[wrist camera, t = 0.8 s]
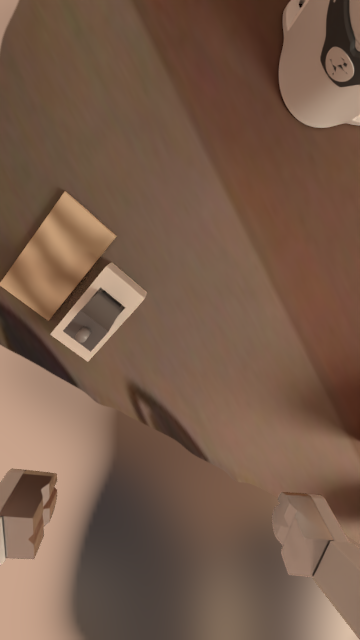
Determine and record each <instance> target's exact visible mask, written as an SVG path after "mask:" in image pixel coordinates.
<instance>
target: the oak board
mask: <svg viewBox="0 0 360 640" xmlns="http://www.w3.org/2000/svg"><path fill="white" fill-rule="evenodd" d="M116 237H117V236H116V235H115V234H114V233H113V232H112V231H110V230H109V229H108V228H107V227H106V226H105V225H104V224H103V223H101V222H100V221H99V220H98V219H97V218H96V217H95V216H93V215H92V214H91V213H90V212H89V211H88V210H87V209H86V208H84V207H83V206H82V205H81V204H80V203H79V202H78V201H77V200H75V199H74V198H73V197H72V196H71V195H70V194H69V193H68V192H64V193H63V195H62V196H61V198H60V199H59V200H58V202H57V203H56V205H55V206H54V207H53V209H52V210H51V212H50V213H49V215H48V216H47V217H46V219H45V220H44V222H43V223H42V224H41V226H40V227H39V229H38V230H37V232H36V233H35V234H34V236H33V237H32V239H31V240H30V241H29V243H28V244H27V246H26V247H25V249H24V250H23V251H22V253H21V254H20V256H19V257H18V258H17V260H16V261H15V263H14V264H13V265H12V267H11V268H10V270H9V271H8V273H7V274H6V275H5V277H4V278H3V280H2V281H1V282H0V286H2V287H3V288H4V289H6V290H7V291H8V292H10V293H11V294H12V295H14V296H15V297H17V298H18V299H19V300H21V301H22V302H23V303H25V304H26V305H27V306H29V307H30V308H32V309H33V310H34V311H36V312H37V313H38V314H40V315H41V316H42V317H44V318H45V319H46V320H48V321H49V320H50V319H51V318H52V316H53V315H54V314H55V313H56V311H57V310H58V309H59V308H60V306H61V305H62V304H63V303H64V301H65V300H66V299H67V298H68V296H69V295H70V294H71V293H72V291H73V290H74V289H75V288H76V286H77V285H78V284H79V283H80V281H81V280H82V279H83V278H84V276H85V275H86V274H87V273H88V271H89V270H90V269H91V268H92V266H93V265H94V264H95V263H96V261H97V260H98V259H99V258H100V257H101V255H102V254H103V253H104V252H105V250H106V249H107V248H108V247H109V245H110V244H111V243H112V242H113V240H114V239H115V238H116Z"/></svg>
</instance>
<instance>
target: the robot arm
mask: <svg viewBox="0 0 360 640" xmlns="http://www.w3.org/2000/svg"><path fill="white" fill-rule="evenodd" d="M299 4H302V5H303V6H302V7H301V8H300V7H299ZM283 33H284V43H283V48H282V52H281V57H280V62H279V85H280V91H281V95H282V97H283V100H284V102H285V104H286V106H287V108H288V110H289V111H290V112H291V113H292V115H293V116H294V117H295V118H296V119H298V120H299V121H300V122H302V123H304V124H306V125H308V126H312V127H317V128H326V127H332V126H335V125H339V124H343V123H348V124H352V125H359V126H360V0H291V1H290V2H289V3H288V5H287V6H286V7H285V9H284V12H283ZM56 482H57V474H56V473H48V472H39V471H30V470H21V469H11V470H9V471H8V472H7V473H6V475H5V476H4V478H3V479H2V481H1V482H0V565H1V564H2V563H3V562H4V561H5V559H6V558H18V559H19V558H20V559H34V558H35V556H36V553H37V551H38V549H39V546H40V543H41V541H42V539H43V536H44V526H45V525H46V524H47V523H49V522H50V519H51V517H52V514H53V511H54V508H55V504H56V499H57V490H56V488H55V487H54V486H55V484H56ZM278 502H279V505H277V506H276V507H275V508H274V511H273V514H272V524H273V530H274V533H275V536H276V538H277V539H278V540H279V542H280V543H281V544H282V545H283V546H282V550H281V554H282V557H283V560H284V563H285V566H286V569H287V572H288V574H289V575H297V576H307V577H313V580H314V581H315V582H316V584H317V585H318V586H319V588H320V589H321V590H322V591H323V593H324V594H325V595H326V597H327V598H328V599H329V600H330V602H331V603H332V604H333V606H334V607H335V608H336V610H337V611H338V612H339V613H340V615H341V616H342V617H343V619H344V620H345V621H346V622H347V624H348V625H349V626H350V628H351V629H352V630H353V632H354V633H355V634H356V635H357V637H358V638H359V639H360V548H359V547H358V546H357V545H356V544H354V543H351V542H349V540H348V539H347V537H346V535H345V533H344V532H343V530H342V528H341V526H340V525H339V523H338V521H337V519H336V517H335V516H334V514H333V512H332V510H331V509H330V507H329V505H328V503H327V501H326V500H325V498H324V497H323V496H322V495H313V494H304V493H290V492H281V493H280V494H279V497H278Z"/></svg>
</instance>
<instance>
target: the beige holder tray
mask: <svg viewBox="0 0 360 640" xmlns="http://www.w3.org/2000/svg"><path fill="white" fill-rule="evenodd" d="M104 290H105V291H106V292H107V293H108V294H110V295H111V296H112V297H113V298H114V299H116V300H117V301H118V302H119V303H121V304H122V305H121V306H120V308H121V309H122V310H121V311H120V313H119V315H118V316H117V318H116V320H115V322H114V323H113V325H112V327H111V328H110V330H109V332H108V333H107V334H106V335H105V336H104V337H103V339H102V340H101V341H100V342H99V343H98V344H97V345H96V346H95V348H94V349H93V350H92V351H91V352H90V351H89V350H88V349H86V348H85V347H84V346H82V345H81V344H79V343H78V342H77V341H75V340H74V339H73V338H71V337H70V336H69V335H67V334H66V333H64V332H63V330H64V329H65V328H66V327H67V325H68V324H69V323H70V322H71V321H72V319H73V318H74V317H75V316H76V315H77V313H78V312H79V311H80V310H81V309H82V308H83V307H84V306H85V305H86V304H87V303H88V302H89V301H90V300H91V299H92V298H93V297H94V296H95V295H96V294H97V293H98V292H99V291H100V292H103V291H104ZM146 294H147V292H146V291H145V290H144V289H143V288H141V287H140V286H139V285H138V284H137V283H136V282H134V281H133V280H132V279H131V278H130V277H129V276H127V275H126V274H125V273H124V272H123V271H122V270H120V269H119V268H118V267H117V266H116V265H114V264H113V263H112V262H111V263H110V264H108V265H107V266H106V267H105V268H104V269H103V271H102V272H101V273H100V274H99V275H98V277H97V278H96V279H95V280H94V282H93V283H92V284H91V285H90V286H89V288H88V289H87V290H86V291H85V293H84V294H83V295H82V296H81V297H80V299H79V300H78V301H77V302H76V304H75V305H74V306H73V307H72V308H71V310H70V311H69V312H68V313H67V315H66V316H65V317H64V318H63V319H62V321H61V322H60V323H59V324H58V325H57V327H56V328H55V329H54V330H53V332H52V333H51V334H50V335H52V336H53V337H54V338H56V339H57V340H59V341H60V342H61V343H63V344H64V345H65V346H67V347H68V348H70V349H71V350H72V351H74V352H75V353H77V354H78V355H79V356H81V357H82V358H83V359H85V360H86V361H89V360H90V359H91V358H92V357H93V356H94V354H95V353H96V352H97V351H98V350H99V349H100V348H101V347H102V346H103V344H104V343H105V342H106V341H107V340H108V339H109V338H110V337H111V336H112V334H113V333H114V332H115V331H116V330H117V329H118V328H119V327H120V326H121V324H122V323H123V322H124V321H125V320H126V319H127V318H128V317H129V316H130V314H131V313H132V312H133V311H134V310H135V309H136V308H137V307H138V306H139V304H140V303H141V302H142V301H143V300H144V299H145V297H146Z"/></svg>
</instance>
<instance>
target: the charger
mask: <svg viewBox="0 0 360 640" xmlns="http://www.w3.org/2000/svg"><path fill="white" fill-rule="evenodd" d="M121 305H122V304H121V303H119V302H118V301H117V300H116V299H114V298H113V297H112V296H111V295H110V294H108V293H107V292H106V291H105V290H104V291H103V292H100V291H99V292H98V293H97V294H96V295H95V296H94V297H93V298H92V299H91V300H90V301H89V302H88V303H87V304H86V305H85V306H84V307H83V308H82V309H81V310H80V311H79V312H78V313H77V315H76V316H75V317H74V318H73V319H72V321H71V322H70V323H69V324H68V325H67V327H66V328H65V329H64V330H63V332H64V333H66V334H67V335H69V336H70V337H71V338H73V339H74V340H75V341H77V342H78V343H79V344H81V345H82V346H84V347H85V348H86V349H88V350H89V351H90V352H91V351H92V350H93V349H94V348H95V346H96V345H97V344H98V343H99V342H100V341H101V340H102V339H103V337H104V336H105V335H106V334H107V333H108V332H109V330H110V328H111V327H112V325H113V323H114V322H115V320H116V318H117V316H118V315H119V313H120V311H121V310H122V309H121V308H120V306H121Z"/></svg>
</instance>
